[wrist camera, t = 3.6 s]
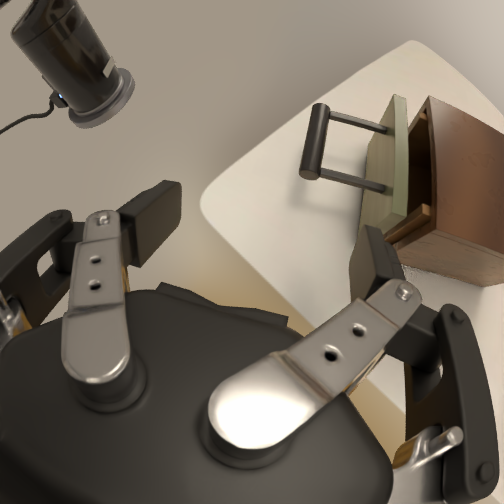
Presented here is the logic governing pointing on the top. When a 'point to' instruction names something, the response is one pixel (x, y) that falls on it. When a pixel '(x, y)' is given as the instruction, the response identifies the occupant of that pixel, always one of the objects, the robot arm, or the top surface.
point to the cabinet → (461, 200)
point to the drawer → (381, 167)
